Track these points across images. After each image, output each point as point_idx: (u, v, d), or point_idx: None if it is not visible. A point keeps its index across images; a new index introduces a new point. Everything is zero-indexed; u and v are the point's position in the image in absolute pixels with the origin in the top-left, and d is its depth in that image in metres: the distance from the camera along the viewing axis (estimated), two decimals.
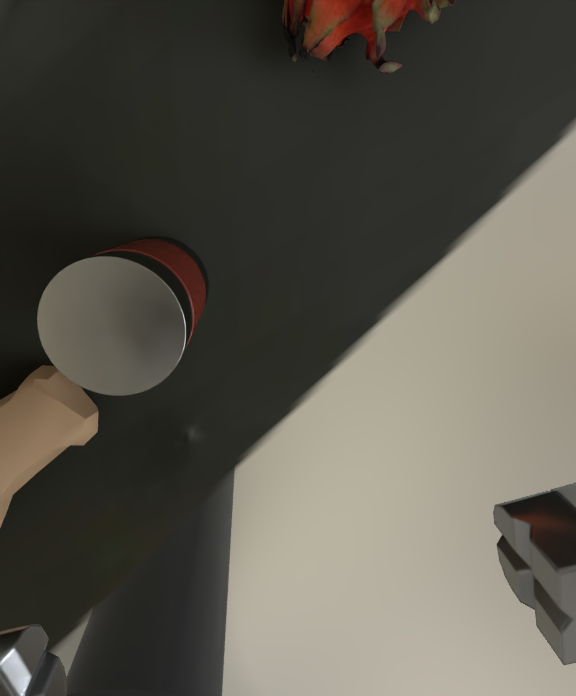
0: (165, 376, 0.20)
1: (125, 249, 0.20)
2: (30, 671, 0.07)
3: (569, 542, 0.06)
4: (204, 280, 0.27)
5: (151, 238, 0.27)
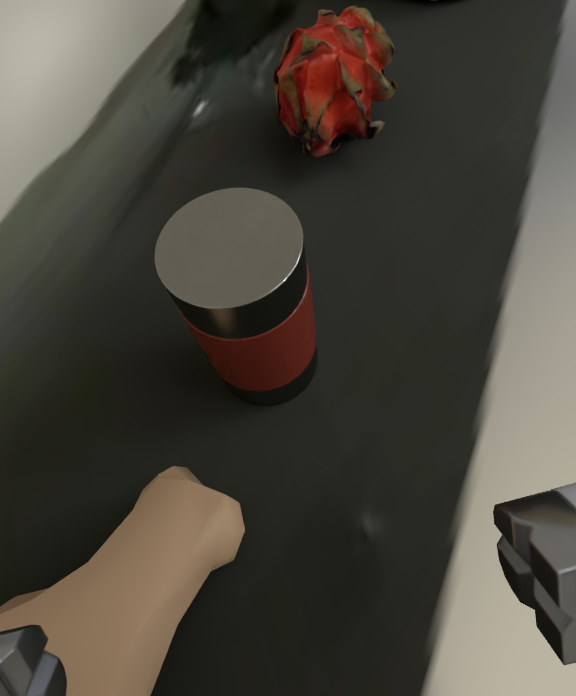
0: (294, 264, 0.17)
1: None
2: (30, 671, 0.07)
3: (569, 542, 0.06)
4: None
5: None
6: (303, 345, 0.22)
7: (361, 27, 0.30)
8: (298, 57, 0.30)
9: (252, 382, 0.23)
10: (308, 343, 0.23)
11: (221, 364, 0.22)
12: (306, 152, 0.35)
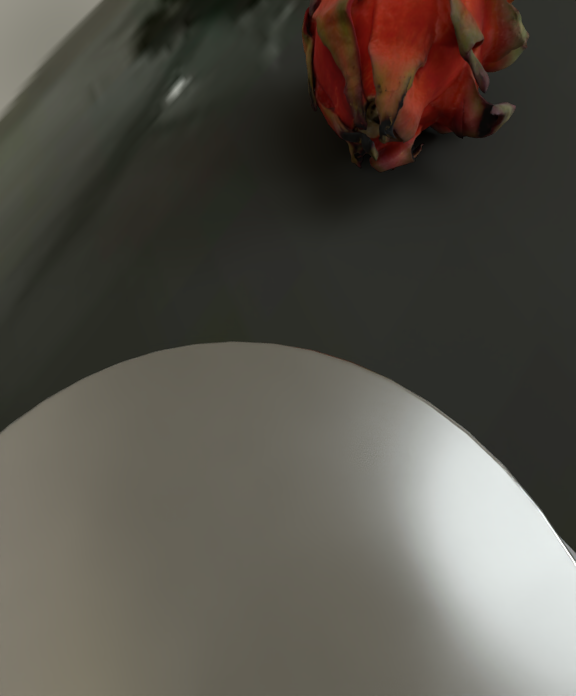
0: None
1: None
2: None
3: None
4: None
5: None
6: None
7: None
8: None
9: None
10: None
11: None
12: (358, 161, 0.20)
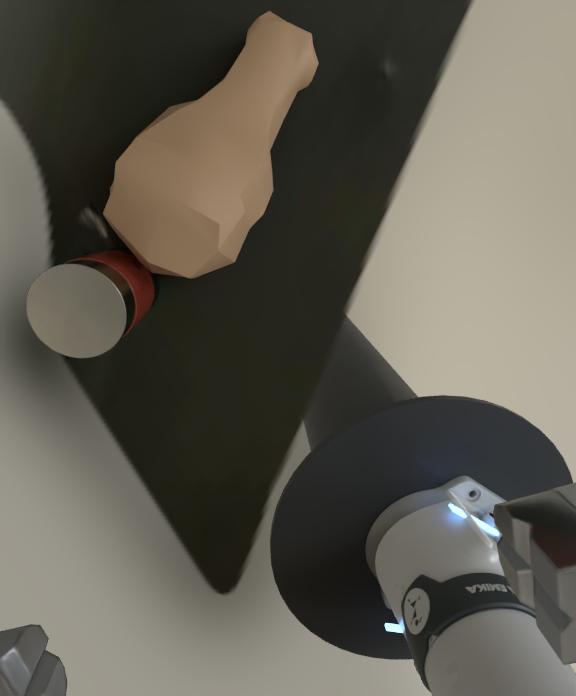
0: (122, 330, 0.29)
1: (68, 261, 0.30)
2: (30, 671, 0.07)
3: (569, 542, 0.06)
4: None
5: None
6: (142, 316, 0.34)
7: None
8: None
9: None
10: (146, 309, 0.35)
11: None
12: None
